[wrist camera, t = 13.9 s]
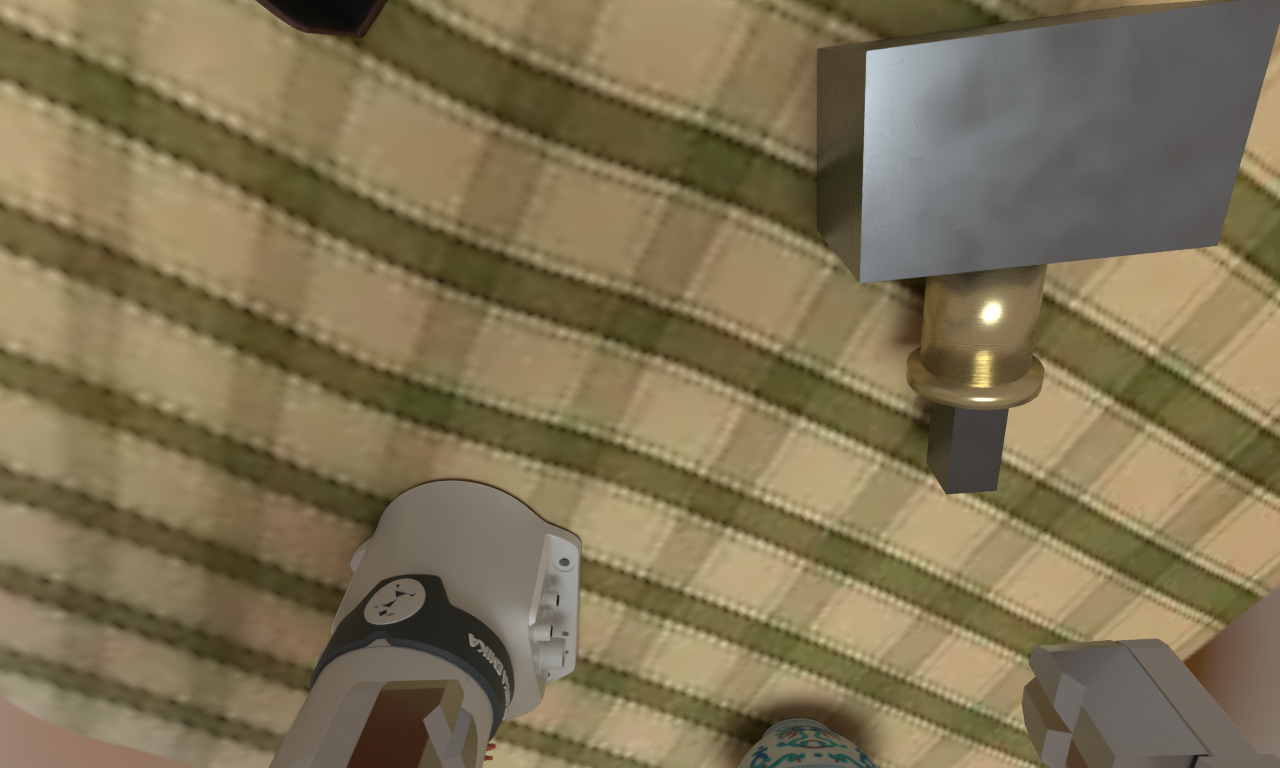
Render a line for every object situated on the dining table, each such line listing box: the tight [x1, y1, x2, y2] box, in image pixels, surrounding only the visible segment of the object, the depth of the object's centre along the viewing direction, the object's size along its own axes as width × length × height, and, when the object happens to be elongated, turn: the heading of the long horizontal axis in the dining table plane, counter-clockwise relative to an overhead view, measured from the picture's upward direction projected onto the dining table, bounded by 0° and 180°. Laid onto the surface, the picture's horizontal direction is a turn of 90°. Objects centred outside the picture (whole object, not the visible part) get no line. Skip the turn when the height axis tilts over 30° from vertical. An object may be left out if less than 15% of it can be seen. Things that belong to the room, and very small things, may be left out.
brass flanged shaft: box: [906, 264, 1047, 494], centre depth 39 cm, size 15×7×7 cm, turn 7°
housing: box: [817, 0, 1280, 283], centre depth 33 cm, size 10×16×10 cm, turn 97°
